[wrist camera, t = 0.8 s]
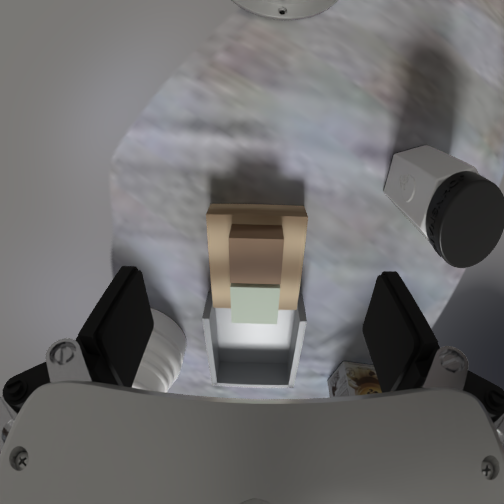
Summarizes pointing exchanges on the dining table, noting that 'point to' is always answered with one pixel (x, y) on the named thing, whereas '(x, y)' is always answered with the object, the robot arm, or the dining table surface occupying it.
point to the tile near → (256, 253)
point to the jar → (447, 203)
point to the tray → (253, 348)
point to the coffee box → (353, 380)
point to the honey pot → (161, 355)
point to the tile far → (254, 303)
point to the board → (256, 214)
